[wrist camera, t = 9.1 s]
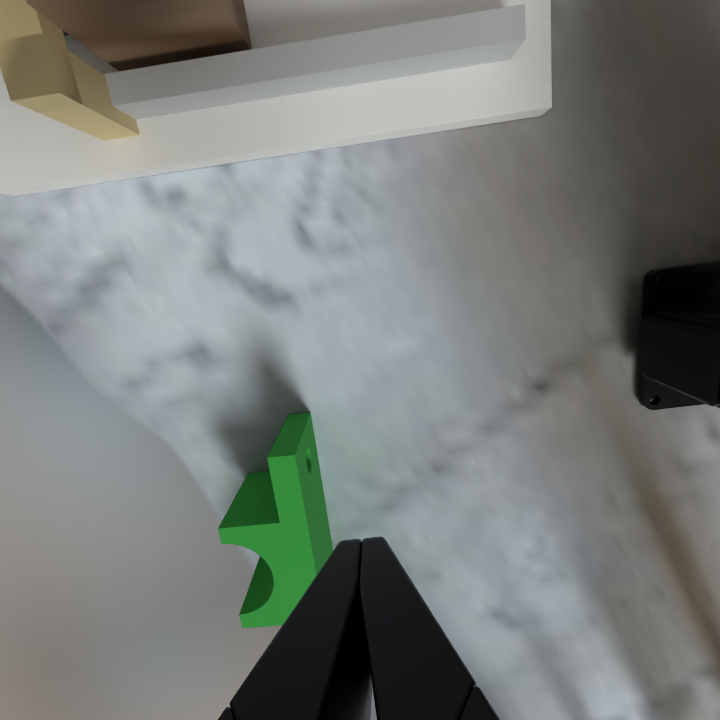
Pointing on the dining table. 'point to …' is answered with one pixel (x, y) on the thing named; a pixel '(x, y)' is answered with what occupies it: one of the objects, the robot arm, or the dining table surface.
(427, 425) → the dining table surface
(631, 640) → the dining table surface
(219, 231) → the dining table surface
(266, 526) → the pipe clamp
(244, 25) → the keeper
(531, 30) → the channel board
